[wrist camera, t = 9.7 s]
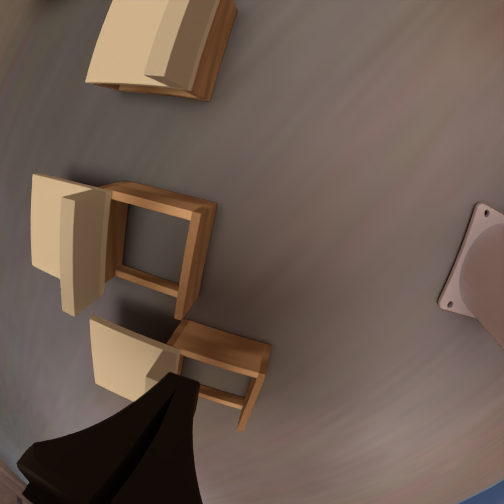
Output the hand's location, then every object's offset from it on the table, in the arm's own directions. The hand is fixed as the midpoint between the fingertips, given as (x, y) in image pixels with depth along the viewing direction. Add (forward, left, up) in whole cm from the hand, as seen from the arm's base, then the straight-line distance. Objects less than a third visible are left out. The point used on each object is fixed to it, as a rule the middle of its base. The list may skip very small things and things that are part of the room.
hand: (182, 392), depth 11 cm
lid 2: (+8, -15, -6) cm, 18 cm away
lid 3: (+5, +7, -6) cm, 11 cm away
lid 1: (+11, -2, -6) cm, 13 cm away
